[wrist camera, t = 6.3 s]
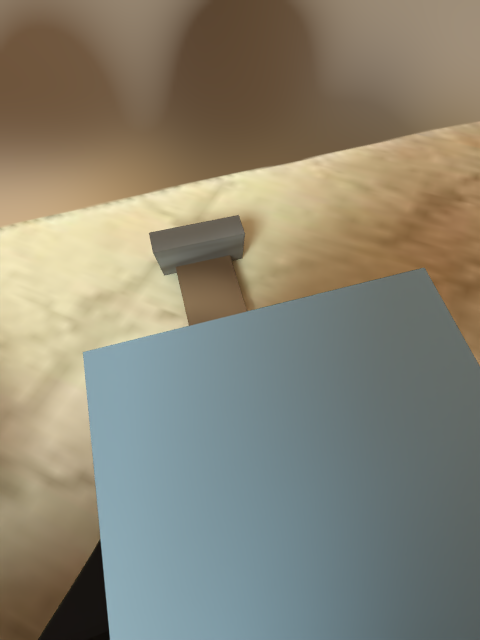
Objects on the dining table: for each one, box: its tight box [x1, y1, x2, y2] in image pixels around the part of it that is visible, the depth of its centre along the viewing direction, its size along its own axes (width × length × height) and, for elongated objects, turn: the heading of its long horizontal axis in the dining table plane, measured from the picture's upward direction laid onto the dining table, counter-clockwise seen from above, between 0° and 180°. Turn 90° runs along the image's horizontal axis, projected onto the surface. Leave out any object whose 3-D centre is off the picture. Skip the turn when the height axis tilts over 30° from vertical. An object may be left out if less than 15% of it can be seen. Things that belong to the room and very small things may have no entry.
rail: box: [149, 215, 247, 326], centre depth 15 cm, size 18×6×4 cm, turn 16°
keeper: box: [83, 268, 480, 640], centre depth 9 cm, size 4×4×13 cm
